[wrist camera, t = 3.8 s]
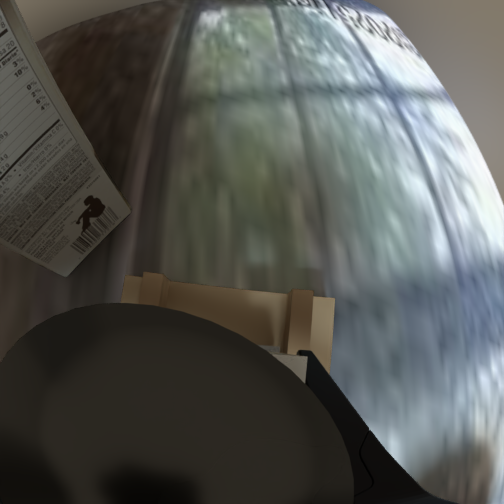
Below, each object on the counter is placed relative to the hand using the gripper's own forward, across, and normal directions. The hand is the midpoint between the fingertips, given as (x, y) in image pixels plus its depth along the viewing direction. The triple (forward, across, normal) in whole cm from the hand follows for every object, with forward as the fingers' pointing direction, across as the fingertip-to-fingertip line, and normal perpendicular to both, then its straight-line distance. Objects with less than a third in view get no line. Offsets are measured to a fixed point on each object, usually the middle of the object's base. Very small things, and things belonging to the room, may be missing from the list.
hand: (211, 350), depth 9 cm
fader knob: (+3, 0, +5) cm, 6 cm away
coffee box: (+11, +12, 0) cm, 16 cm away
